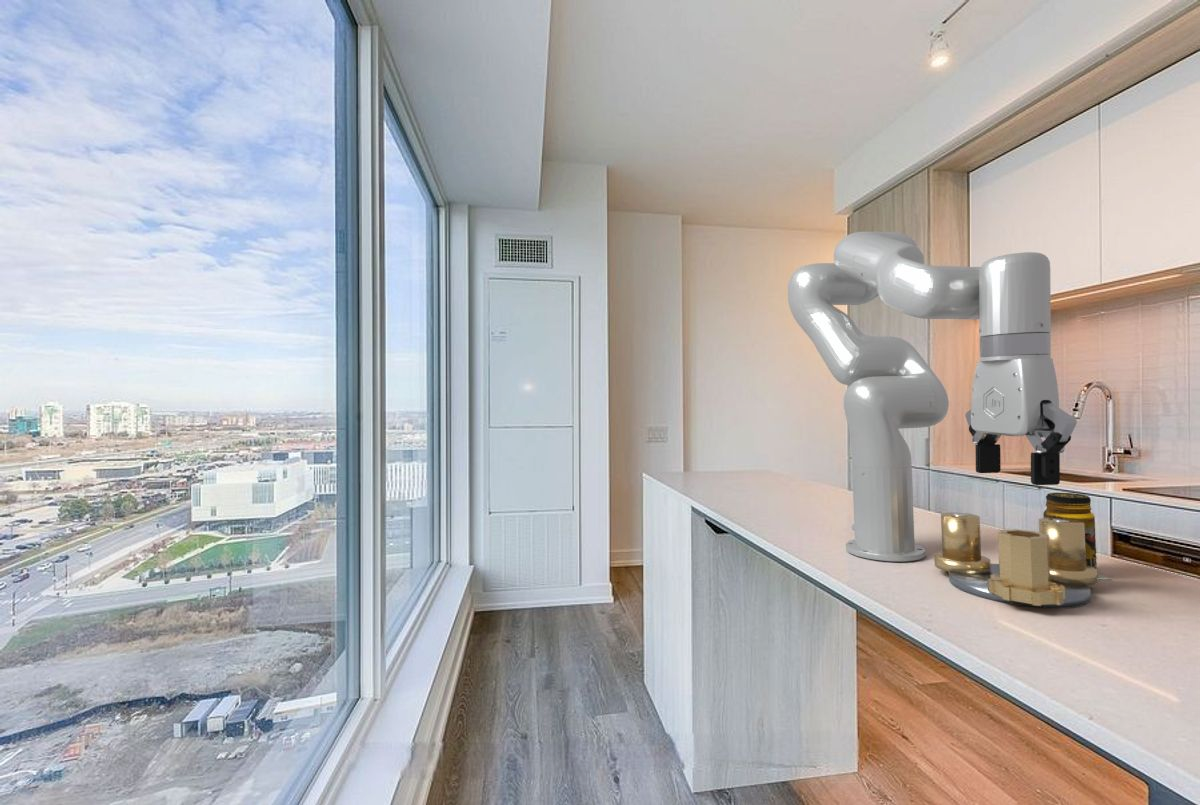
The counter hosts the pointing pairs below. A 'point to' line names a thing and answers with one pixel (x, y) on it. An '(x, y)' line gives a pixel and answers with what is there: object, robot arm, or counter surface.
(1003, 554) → the gold hollow octagonal piece
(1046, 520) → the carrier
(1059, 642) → the counter surface
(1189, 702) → the counter surface
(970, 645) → the counter surface
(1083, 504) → the condiment
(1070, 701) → the counter surface
